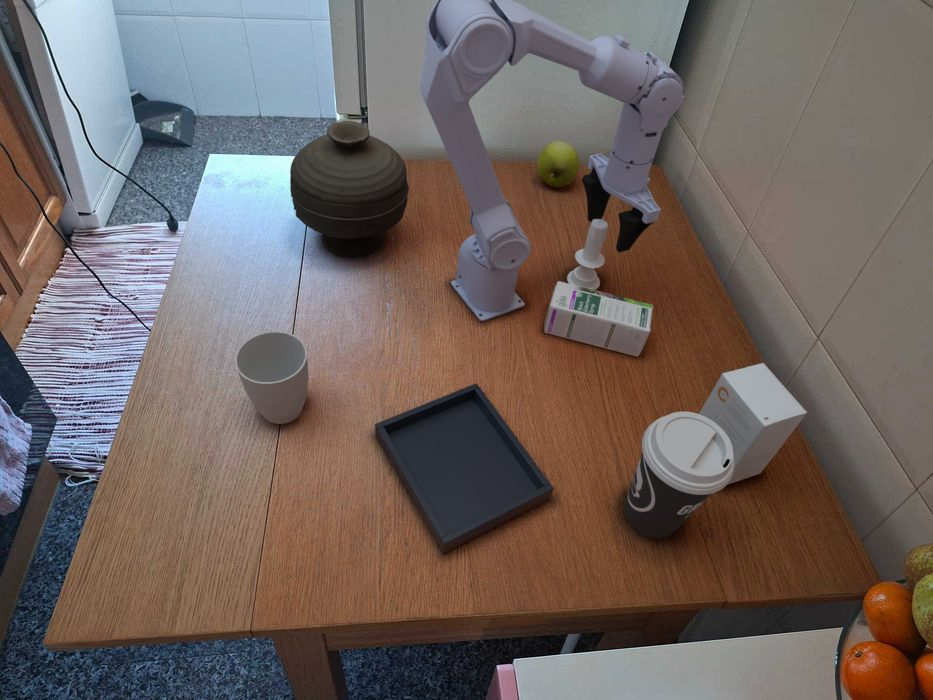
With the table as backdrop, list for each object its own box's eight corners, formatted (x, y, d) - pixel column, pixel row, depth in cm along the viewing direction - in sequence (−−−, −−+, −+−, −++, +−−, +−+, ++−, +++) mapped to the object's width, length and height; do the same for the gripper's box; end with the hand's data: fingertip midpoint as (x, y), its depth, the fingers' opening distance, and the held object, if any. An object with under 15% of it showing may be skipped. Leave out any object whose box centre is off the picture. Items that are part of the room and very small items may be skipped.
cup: (325, 394, 84) (319, 343, 77) (294, 442, 79) (284, 392, 72) (270, 376, 86) (258, 323, 78) (236, 422, 80) (220, 370, 73)
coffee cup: (644, 565, 72) (689, 498, 61) (595, 496, 78) (629, 423, 67) (707, 531, 76) (761, 462, 65) (656, 467, 81) (698, 393, 70)
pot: (433, 227, 109) (429, 121, 93) (367, 291, 99) (350, 185, 84) (350, 190, 115) (333, 84, 99) (280, 248, 105) (250, 140, 90)
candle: (560, 280, 104) (575, 219, 95) (579, 265, 107) (596, 205, 98) (587, 297, 102) (605, 236, 93) (606, 282, 104) (625, 221, 96)
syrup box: (651, 331, 89) (549, 303, 91) (638, 359, 94) (541, 332, 95) (654, 304, 93) (556, 278, 95) (642, 332, 98) (548, 307, 99)
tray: (375, 435, 81) (374, 423, 79) (474, 395, 87) (476, 382, 85) (442, 554, 71) (444, 543, 69) (550, 499, 77) (554, 488, 75)
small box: (760, 474, 82) (809, 413, 72) (720, 488, 80) (764, 427, 70) (722, 424, 87) (763, 360, 77) (683, 436, 85) (720, 372, 75)
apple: (531, 192, 120) (538, 154, 114) (535, 166, 126) (542, 129, 120) (573, 199, 119) (582, 161, 113) (575, 173, 125) (584, 135, 120)
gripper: (690, 176, 83) (659, 257, 94) (625, 121, 92) (603, 201, 102) (646, 186, 81) (619, 269, 91) (584, 129, 89) (565, 210, 100)
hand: (608, 234), depth 96 cm, fingers open, 7 cm apart
